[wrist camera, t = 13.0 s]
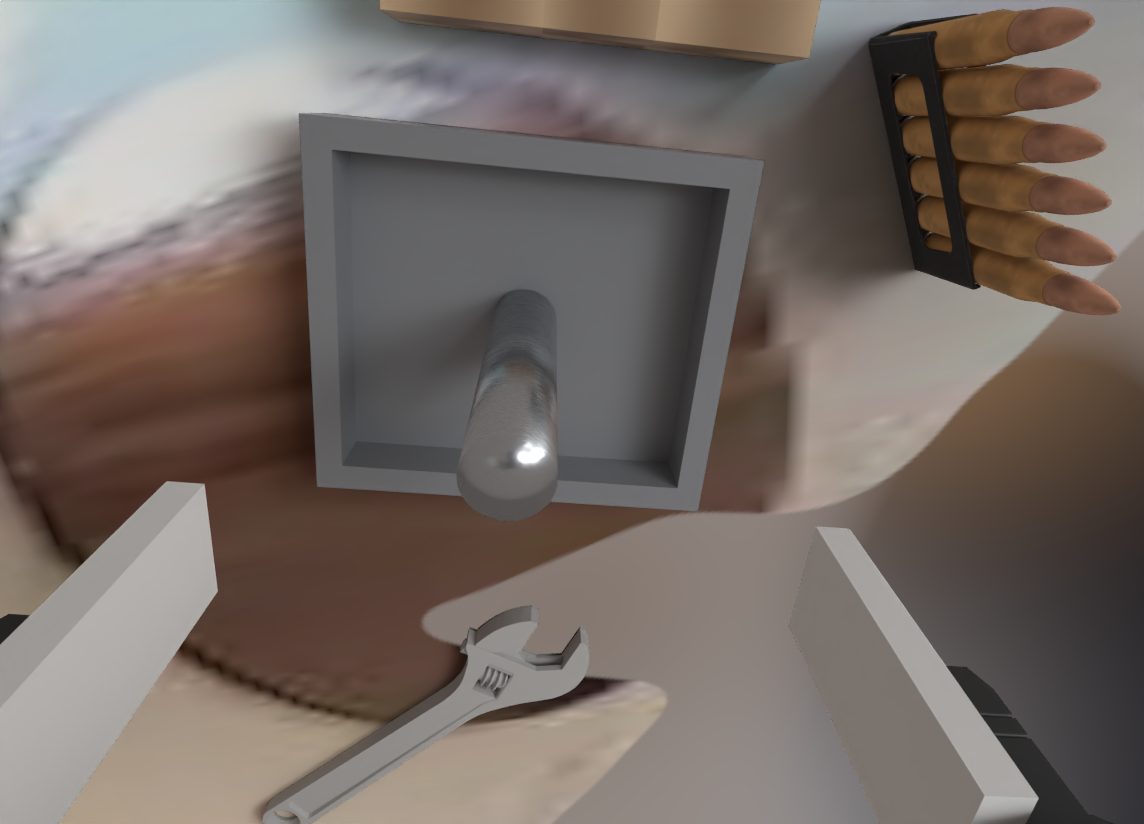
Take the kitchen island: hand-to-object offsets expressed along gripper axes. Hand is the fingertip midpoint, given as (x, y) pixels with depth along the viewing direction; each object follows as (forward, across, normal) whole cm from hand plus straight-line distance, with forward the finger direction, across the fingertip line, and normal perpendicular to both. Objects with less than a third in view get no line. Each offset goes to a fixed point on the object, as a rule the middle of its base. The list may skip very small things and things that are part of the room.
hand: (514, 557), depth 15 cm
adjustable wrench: (+21, -6, -27) cm, 34 cm away
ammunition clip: (+21, +16, +9) cm, 28 cm away
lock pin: (+20, 0, 0) cm, 20 cm away
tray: (+20, 0, 0) cm, 21 cm away
